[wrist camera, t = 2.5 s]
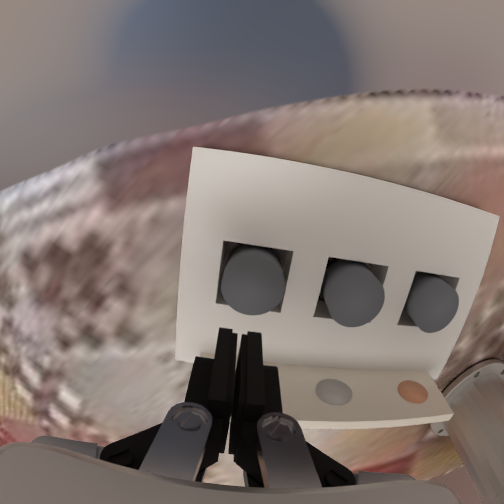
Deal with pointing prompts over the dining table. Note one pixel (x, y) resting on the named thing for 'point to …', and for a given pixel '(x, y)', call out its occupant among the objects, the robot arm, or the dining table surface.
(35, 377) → the dining table surface
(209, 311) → the button panel
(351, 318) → the button middle
